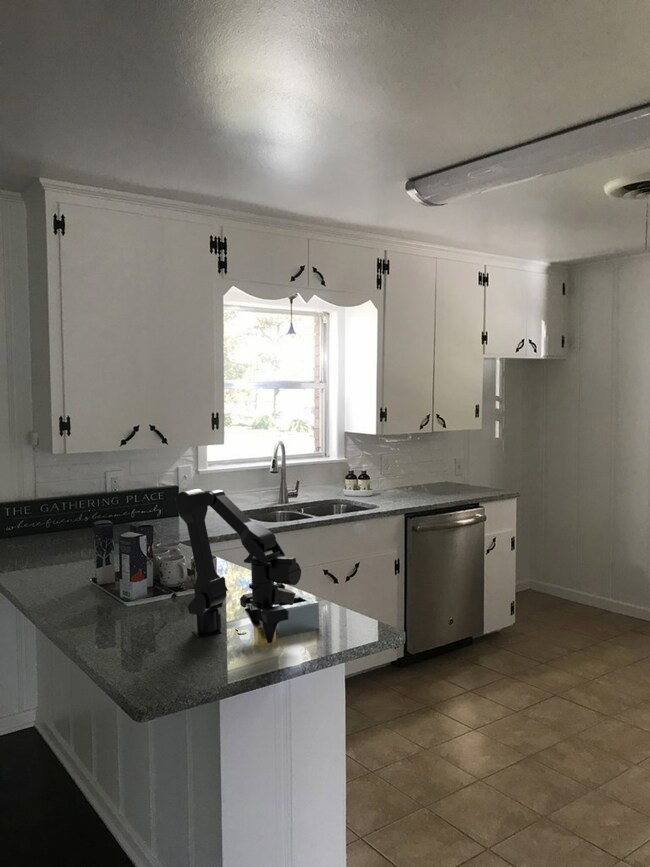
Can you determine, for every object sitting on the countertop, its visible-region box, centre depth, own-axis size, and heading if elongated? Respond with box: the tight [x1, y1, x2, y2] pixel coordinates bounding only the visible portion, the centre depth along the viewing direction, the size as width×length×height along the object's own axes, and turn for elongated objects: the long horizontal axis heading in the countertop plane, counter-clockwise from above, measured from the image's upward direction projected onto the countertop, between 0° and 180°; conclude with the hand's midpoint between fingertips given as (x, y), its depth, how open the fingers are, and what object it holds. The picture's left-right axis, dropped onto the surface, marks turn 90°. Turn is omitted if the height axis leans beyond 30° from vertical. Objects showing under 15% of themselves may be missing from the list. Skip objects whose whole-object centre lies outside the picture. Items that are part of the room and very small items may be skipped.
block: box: [253, 624, 277, 647], centre depth 191 cm, size 5×2×5 cm, turn 118°
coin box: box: [272, 593, 320, 638], centre depth 202 cm, size 12×10×7 cm
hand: (265, 639), depth 191 cm, fingers open, 6 cm apart
